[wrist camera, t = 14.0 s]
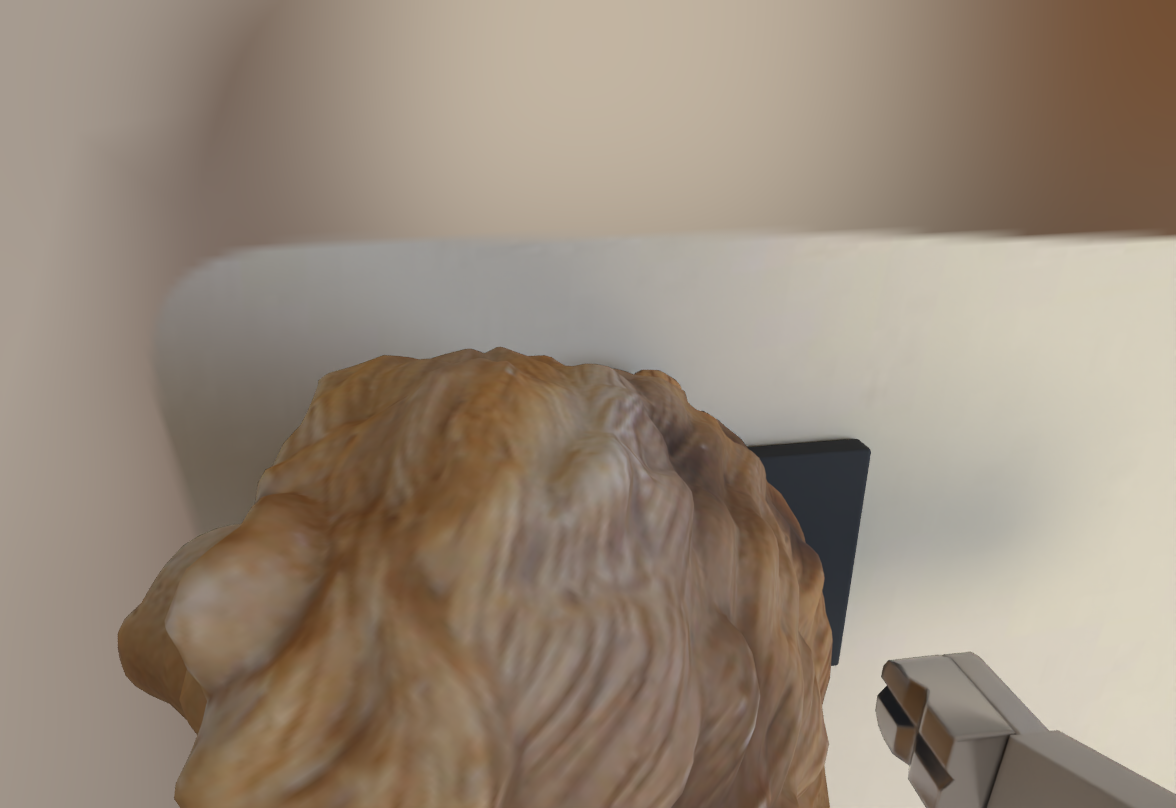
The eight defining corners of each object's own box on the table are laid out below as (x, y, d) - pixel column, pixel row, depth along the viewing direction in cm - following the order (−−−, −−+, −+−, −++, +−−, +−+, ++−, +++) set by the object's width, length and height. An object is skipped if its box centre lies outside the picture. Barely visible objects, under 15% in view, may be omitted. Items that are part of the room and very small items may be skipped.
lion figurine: (325, 337, 10) (-621, 1040, 2) (584, 181, 10) (880, 196, 1) (678, 793, 15) (842, 1516, 7) (860, 711, 15) (1272, 1394, 7)
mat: (436, 687, 14) (432, 707, 14) (395, 473, 12) (388, 487, 11) (828, 648, 15) (839, 666, 14) (858, 437, 13) (872, 449, 12)
